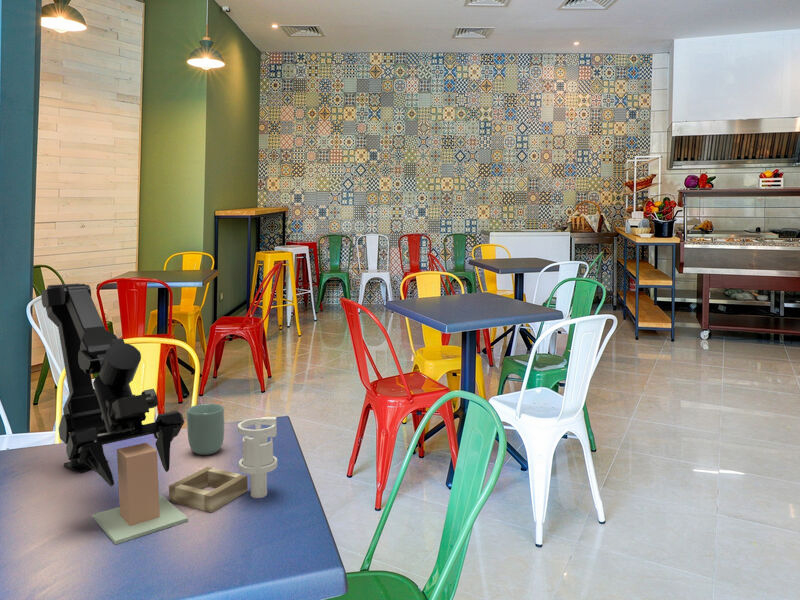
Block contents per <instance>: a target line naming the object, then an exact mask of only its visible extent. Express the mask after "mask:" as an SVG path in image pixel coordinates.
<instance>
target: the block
mask: <svg viewBox="0 0 800 600" xmlns="http://www.w3.org/2000/svg"><path fill="white" fill-rule="evenodd" d="M116 457H117V458H116V460H117V461H116V462H117V477H118V478H117V480H118V493H119V495H118V497H119V498H118V499H119V507H120V516H121V517H122V518H123V519H124V520H125V521H126V522H127V523H128V524H129V525H130V526H132V525H135V524H138V523H142V522H145V521H148V520H151V519H155V518H158V517H160V509H159V495H160V494H159V493H160V491H159V490H160V488H159V487H160V486H159V470H158V469H159V466H158V450H157V448H154V447H153V446H152V445H150V444H149V443H147V442H144V443H139V444H133V445H130V446H125V447H120V448H117V449H116Z"/></svg>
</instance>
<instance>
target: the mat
mask: <svg viewBox="0 0 800 600" xmlns="http://www.w3.org/2000/svg"><path fill="white" fill-rule="evenodd" d="M159 509H160V517H158V518H155V519H151V520H148V521H145V522H142V523H138V524H135V525H132V526H130V525H129V524H128V523H127V522H126V521H125V520H124V519H123V518H122V517H121V516H120V506H118V507H114V508H110V509H107V510H104V511H99V512H97V513H94V514H92V519H93V520H94V521H95V522H96V523H97V524H98V525H99V527H100V528H101V529H102V530H103V532H104V533H105V534H106V535H107V537H108V538H109V539H110V540H111V541H112V542H113V544H114V545H118V544H122V543H125V542H127V541H130V540H134V539H137V538H140V537H144V536H146V535H149V534H152V533H156V532H159V531H162V530H165V529H168V528H170V527H171V528H172V527H174V526H178V525H181V524H183V523H187V522H189V518H188V517H187V516H186V515H185V514H184V513H183V512H182V511H181V510H180V509H178V508H177V507H176V506H175V505H174V504H172V502H170V501H169V499H167V498H166V497H165V496H164V495H162V494H159Z"/></svg>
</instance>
